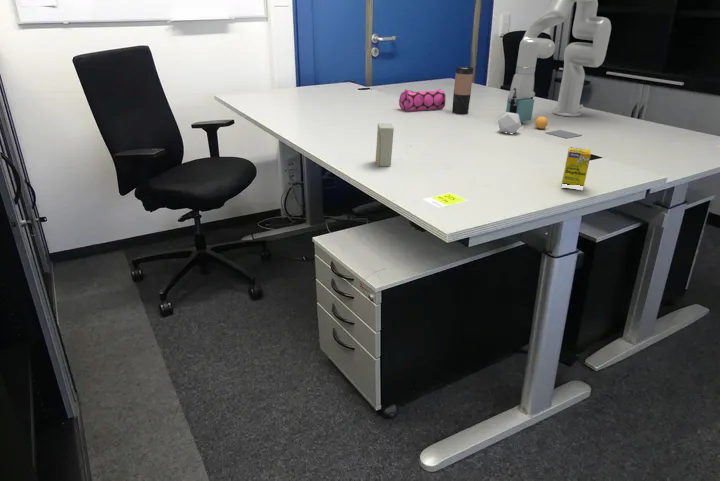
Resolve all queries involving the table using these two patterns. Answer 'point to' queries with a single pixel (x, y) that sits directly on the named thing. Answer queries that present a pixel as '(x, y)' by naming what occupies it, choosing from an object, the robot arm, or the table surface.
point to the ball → (541, 122)
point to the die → (509, 122)
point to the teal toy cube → (523, 109)
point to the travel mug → (462, 90)
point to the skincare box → (384, 144)
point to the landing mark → (563, 134)
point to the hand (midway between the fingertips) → (518, 113)
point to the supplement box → (576, 166)
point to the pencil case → (422, 100)
